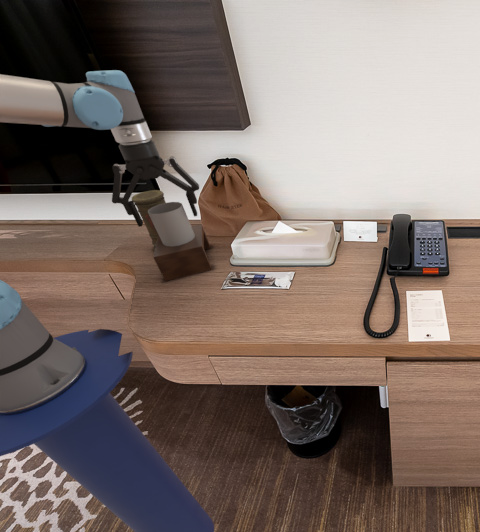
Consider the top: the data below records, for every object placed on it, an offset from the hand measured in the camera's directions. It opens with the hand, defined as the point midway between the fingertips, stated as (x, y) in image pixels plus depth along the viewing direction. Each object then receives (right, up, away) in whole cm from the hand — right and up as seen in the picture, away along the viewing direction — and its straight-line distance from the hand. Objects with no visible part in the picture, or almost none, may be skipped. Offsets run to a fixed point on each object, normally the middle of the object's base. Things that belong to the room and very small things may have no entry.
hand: (169, 219), depth 97 cm
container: (-11, -7, +18) cm, 22 cm away
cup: (0, -5, +4) cm, 7 cm away
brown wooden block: (+1, -12, +8) cm, 15 cm away
